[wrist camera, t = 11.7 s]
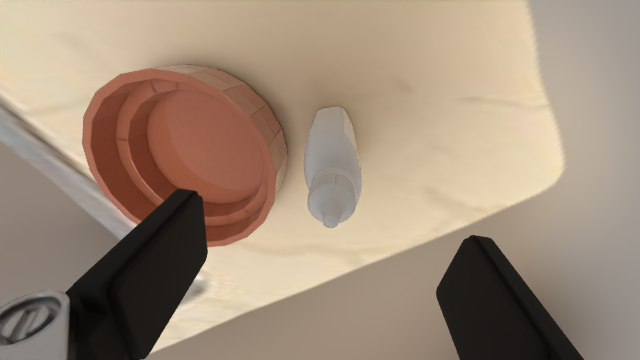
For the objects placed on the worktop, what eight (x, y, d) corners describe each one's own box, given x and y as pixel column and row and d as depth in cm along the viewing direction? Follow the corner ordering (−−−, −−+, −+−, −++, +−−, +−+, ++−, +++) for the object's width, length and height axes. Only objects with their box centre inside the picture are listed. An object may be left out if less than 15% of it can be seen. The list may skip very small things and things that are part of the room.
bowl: (117, 51, 20) (54, 52, 16) (295, 80, 20) (282, 89, 16) (146, 202, 27) (108, 232, 22) (281, 224, 27) (269, 258, 22)
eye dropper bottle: (371, 115, 21) (403, 184, 10) (347, 173, 24) (353, 276, 13) (320, 98, 21) (300, 151, 10) (301, 159, 23) (270, 252, 13)
